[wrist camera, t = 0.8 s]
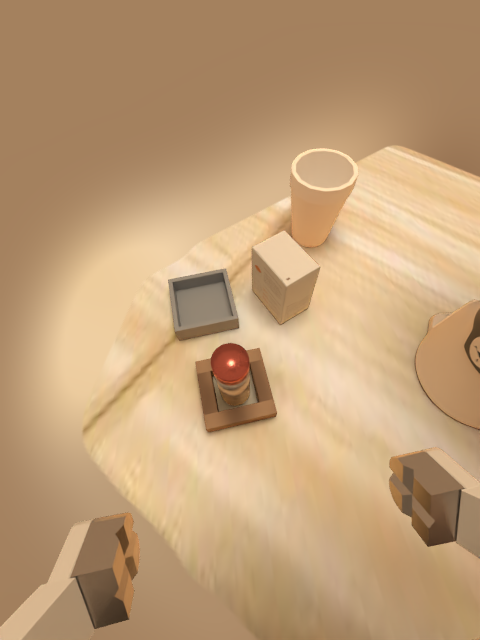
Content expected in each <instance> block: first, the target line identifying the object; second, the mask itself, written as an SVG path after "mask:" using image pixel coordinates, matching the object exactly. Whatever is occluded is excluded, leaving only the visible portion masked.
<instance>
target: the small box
mask: <svg viewBox="0 0 480 640" xmlns="http://www.w3.org/2000/svg"><path fill="white" fill-rule="evenodd" d="M319 270H320V265H319V264H318V263H317V262H316V261H315V260H314V259H313V258H312V257H311V256H310V255H309V254H308V253H307V252H306V251H305V250H304V249H303V248H302V247H301V246H300V245H299V244H298V243H297V242H296V241H295V240H294V239H293V238H292V237H291V236H290V235H289V234H288V233H287V232H286V231H285V230H284V231H282V232H280V233H278V234H276V235H274V236H272V237H270V238H268V239H266V240H264V241H262V242H260V243H259V244H257V245H255V246H253V247H252V290H253V292H254V293H255V294H256V295H257V296H258V298H259V299H260V300H261V301H262V303H263V304H264V305H265V306H266V307H267V309H268V310H269V311H270V312H271V314H272V315H273V316H274V317H275V319H276V320H277V321H278V322H279V324H282V323H284V322H286V321H287V320H289V319H291V318H292V317H294V316H296V315H297V314H299V313H300V312H302V311H304V310H305V309H307V308H308V307H309V304H310V300H311V297H312V294H313V290H314V287H315V284H316V280H317V277H318V274H319Z"/></svg>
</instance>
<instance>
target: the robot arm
mask: <svg viewBox="0 0 480 640" xmlns="http://www.w3.org/2000/svg"><path fill="white" fill-rule="evenodd" d="M416 371H417V375H418V378H419V380H420V383H421V385H422V387H423V389H424V390H425V392H426V393H427V395H428V396H429V397H430V399H431V400H432V401H433V402H434V403H435V404H436V405H437V406H438V407H439V408H440V409H441V410H442V411H444V412H445V413H446V414H448V415H449V416H450V417H452V418H454V419H456V420H457V421H459V422H461V423H464V424H466V425H469V426H472V427H475V428H478V429H480V301H477V300H472V301H470V302H468V303H467V304H465V305H464V306H462V307H461V308H459V309H458V310H456V311H455V312H453V313H438V314H436V315H434V316H432V317H431V319H430V321H429V327H428V333H427V335H426V337H425V338H424V339H423V340H422V342H421V343H420V345H419V347H418V350H417V353H416ZM389 467H390V469H391V470H392V471H393V472H394V473H393V474H392V476H391V477H390V479H389V487H390V491H391V494H392V497H393V499H394V501H395V503H396V505H397V506H398V508H399V509H400V510H401V512H402V513H404V514H406V515H408V516H410V517H411V518H412V526H413V528H414V529H415V530H416V532H417V533H418V534H419V536H420V537H421V538H422V540H423V541H424V542H425V544H426V545H427V546H428V547H429V546H434V545H439V544H444V543H449V542H454V541H456V543H457V544H459V545H460V546H462V547H463V548H465V549H466V550H468V551H469V552H471V553H472V554H474V555H475V556H477V557H478V558H480V482H479V481H477V480H476V479H475V478H474V477H473V476H472V475H470V474H469V473H468V472H467V471H466V470H465V469H463V468H462V467H461V466H460V465H459V464H458V463H456V462H455V461H454V460H453V459H452V458H451V457H449V456H448V455H447V454H446V453H445V452H444V451H442V450H441V449H439V448H437V447H434V448H430V449H425V450H421V451H416V452H412V453H407V454H403V455H398V456H394V457H391V459H390V466H389ZM133 523H134V521H133V518H132V515H131V513H122V514H117V515H112V516H106V517H101V518H95V519H92V520H86V521H81V522H76V523H75V524H74V525H73V526H72V528H71V530H70V532H69V534H68V537H67V539H66V541H65V544H64V546H63V548H62V550H61V553H60V555H59V558H58V560H57V562H56V564H55V566H54V569H53V571H52V573H51V576H50V578H49V580H48V582H47V584H43V585H41V586H40V587H39V588H38V589H37V590H36V591H35V592H34V593H33V594H32V595H31V596H30V597H29V598H28V599H27V600H26V601H25V602H24V603H23V604H22V605H21V606H20V607H19V608H18V609H17V610H16V611H15V612H14V614H13V615H12V616H11V617H10V618H9V619H8V620H7V621H6V622H5V623H4V624H3V625H2V626H1V627H0V640H90V639H91V637H92V636H93V634H94V632H95V629H97V628H100V627H104V626H108V625H111V624H114V623H118V622H122V621H126V620H129V617H130V611H131V606H132V601H133V595H134V587H133V584H132V580H133V578H134V577H135V576H136V574H137V573H138V567H139V560H140V559H139V558H140V546H139V539H138V535H137V533H135V532H134V531H132V528H133ZM473 640H480V638H476V639H473Z"/></svg>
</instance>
